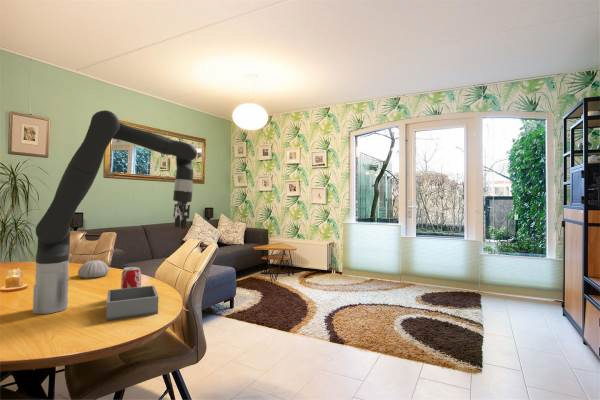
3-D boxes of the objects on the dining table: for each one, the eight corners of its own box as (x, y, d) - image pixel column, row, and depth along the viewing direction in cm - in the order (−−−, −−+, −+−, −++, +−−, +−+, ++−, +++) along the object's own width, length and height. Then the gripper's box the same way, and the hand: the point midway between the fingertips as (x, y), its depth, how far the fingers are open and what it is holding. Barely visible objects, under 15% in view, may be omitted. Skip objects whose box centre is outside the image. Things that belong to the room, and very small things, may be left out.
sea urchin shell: (71, 277, 154) (71, 261, 154) (96, 271, 167) (97, 256, 167) (91, 280, 150) (92, 264, 150) (116, 274, 163) (116, 259, 162)
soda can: (132, 301, 123) (132, 270, 122) (116, 299, 124) (117, 269, 124) (144, 296, 129) (145, 267, 129) (129, 294, 131) (130, 265, 131)
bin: (106, 321, 103) (106, 302, 103) (107, 306, 117) (108, 290, 116) (157, 313, 111) (158, 296, 111) (153, 300, 124) (154, 285, 124)
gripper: (169, 190, 139) (166, 226, 138) (179, 189, 128) (175, 228, 127) (186, 192, 144) (183, 227, 143) (197, 191, 132) (194, 229, 131)
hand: (179, 228), depth 135 cm, fingers open, 8 cm apart
